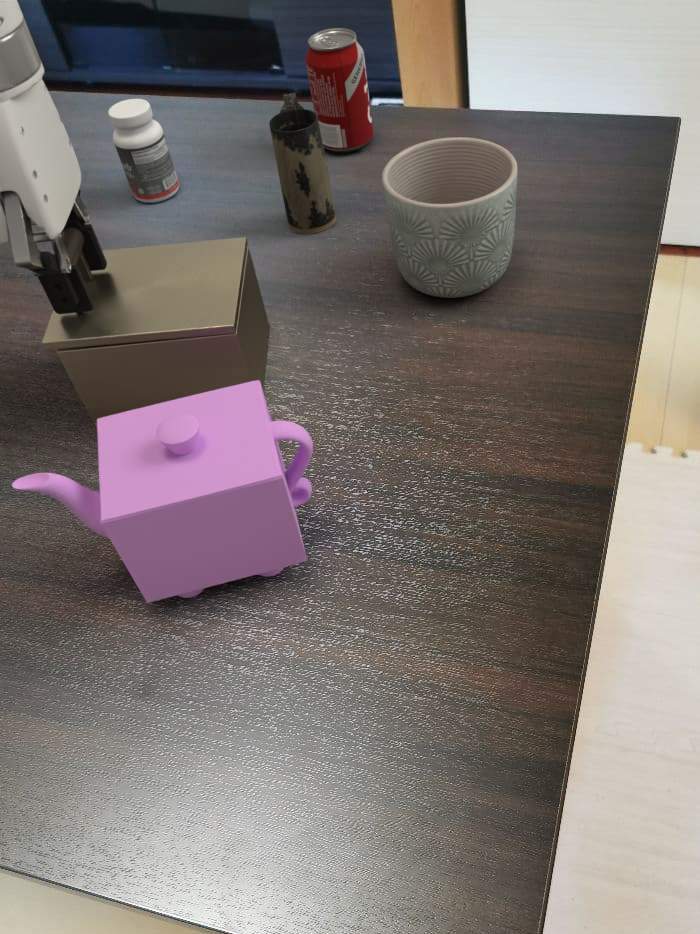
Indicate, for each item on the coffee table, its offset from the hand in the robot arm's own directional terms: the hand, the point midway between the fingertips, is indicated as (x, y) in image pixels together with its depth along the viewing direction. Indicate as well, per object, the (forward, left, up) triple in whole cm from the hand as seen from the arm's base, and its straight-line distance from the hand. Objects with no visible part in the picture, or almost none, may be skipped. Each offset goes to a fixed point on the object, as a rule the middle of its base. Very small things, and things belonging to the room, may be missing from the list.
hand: (82, 287), depth 71 cm
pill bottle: (-2, +35, -11) cm, 37 cm away
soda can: (+21, +42, -11) cm, 48 cm away
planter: (+32, +12, -11) cm, 36 cm away
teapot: (+10, -21, -11) cm, 26 cm away
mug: (+17, +26, -11) cm, 33 cm away
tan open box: (+6, 0, -10) cm, 12 cm away
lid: (+6, 0, -1) cm, 6 cm away
